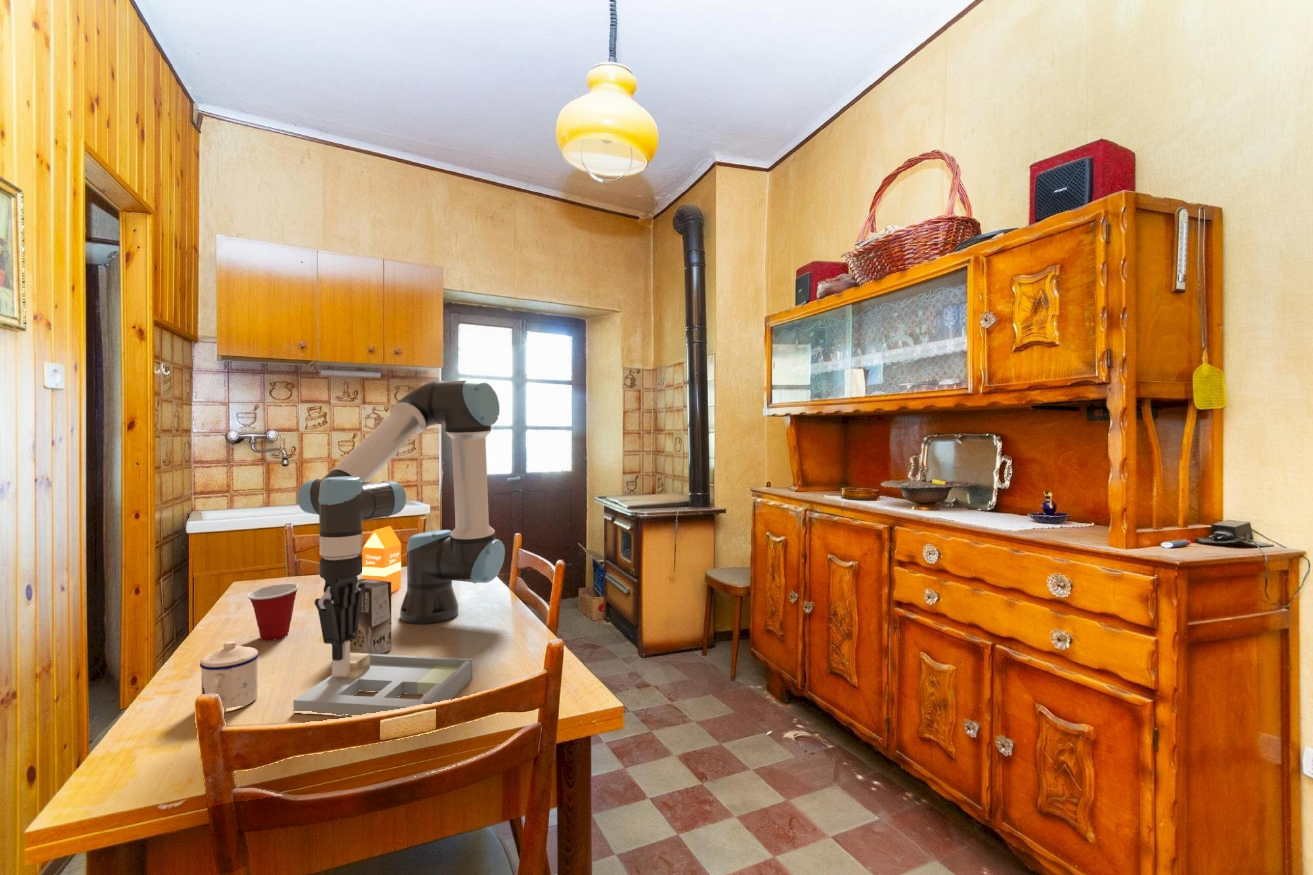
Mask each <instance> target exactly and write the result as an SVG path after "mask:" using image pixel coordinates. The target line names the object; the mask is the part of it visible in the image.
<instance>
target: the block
mask: <svg viewBox="0 0 1313 875" xmlns="http://www.w3.org/2000/svg"><path fill="white" fill-rule="evenodd" d="M369 668H370V654H365V653H350V673H349V674H348V675H346V676H336V675H333V661H331V675H332V677H344V678H356V677H358V676H359V675H361V674H362V673H364V672H365V671H366V670H368V669H369Z"/></svg>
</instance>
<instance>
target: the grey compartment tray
mask: <svg viewBox="0 0 1313 875" xmlns="http://www.w3.org/2000/svg"><path fill="white" fill-rule="evenodd" d="M365 654H367V653H365ZM473 663H474V662H473V658H460V657H446V656H445V657H441V656H424V655H423V656H422V655H421V656H420V655H406V654H405V655H403V654H401V655H400V654H385V653H382V654H370V668H369V669H368V670H366V671H365V672H364V673H362V674H361V675H359V676H358V677H356V678H344V677H332V674H331V675H330V676H328V677H327V678H325V679H324V680H322V681H320V682H318V684H316V685H314V686H313V687H311V688H309V689H308V690H307V691H305V692H303V693H302V694H301V695H299V696H298V697H296V698H295V699H293V703H292V704H293V712H294V711H312V712H317V713H332V714H336V715H342V716H338V717H341V718H342V717H343V718H349V717H348V716H351V715H362V714H366V713H376V712H380V711H388V710H394V709H400V708H406V707H410V706H415V705H420V704H432V703H434V702H440V701H443V700H449V699H452V700H453V699H454V698H455V697H456V696H457V694H458V693H460V692H461V690H462V689H463V688H465V686H466V685H467V684H468V683H469V682H470V681H471V680H473V669H474V668H473ZM359 690H362V691H380V692H378V693H375V695H374V696H366V695H365V696H364V695H360V696H359V695H356V694H355V693H357V692H358V691H359ZM358 693H359V692H358ZM358 693H357V694H358ZM402 693H407V694H406V695H410V694H425V695H422V696H421V698H419V699H417V698H416V699H415V698H414V699H413V698H400V697H401V696H402V695H403V694H402ZM354 694H355V695H354ZM401 694H402V695H401ZM352 695H354V696H352ZM400 695H401V696H400ZM398 696H400V697H399V698H397V697H398ZM343 714H344V715H343ZM345 714H348V715H345Z"/></svg>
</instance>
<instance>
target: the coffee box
mask: <svg viewBox="0 0 1313 875" xmlns="http://www.w3.org/2000/svg"><path fill="white" fill-rule="evenodd" d="M358 582H359V583H365V589H364V592H363V595H362V602H361V610H360V617H359V625H358V631H357V633H353V635H356V638H355V639H350V653H367V654H385V653H386V652H390V651H391V650H392V592H391V583H392V582H390V581H380V580H371V579H362V578H360V579H359V578H358Z"/></svg>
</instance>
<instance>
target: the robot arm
mask: <svg viewBox="0 0 1313 875" xmlns="http://www.w3.org/2000/svg"><path fill="white" fill-rule="evenodd" d="M499 402H500V401H499V398H498V395H497V393H496V391H495V389H493V387H492V386H491V385H490V384H489V383H488V382H486V381H482V380H472V379H469V380H435V381H430V382H427V383H424V384H422V385H420V386H418V387H416V388H415V389H413V390H411V391H410V392H408V393H407V394H405V395H404V396H403V397H402V398H400V399H399V400H398V401H397V402H396V403H395V404H394V405H393V406H392V407H391V410H390V414H389V415H388V416H387V417H386V418H385V419H384V420H383V421H382V422H381V423H380V424H379V425H378V426H377V427H376V428H374V429H373V430H372V432H370V433H369V434H368V435H367V436H366V437H365V438H364V439H362V441H360V443H358V445H357V446H356V447H354V448H353V449H352V450H351V451H350V452H349V453H348V454H347V455H346V456H345V457H344V458H343V459H342V460H341V461H340V462H339V463H338V464H337V465H335V466H334V467H333V468H332V469H331V470H330V471H329V473H327V474H325V476H324V477H323V478H322V479H319V478H316V479H309V480H306V481H305V482H303V483H302V484H301V486H300V487H299V489H298V491H297V495H296V499H297V505H298V506H299V508H300V509H301V510H302V511H303V512H305V513H307V514H313V515H318V517H319V555H320V559H319V565H318V566H319V568H318V569H319V576H320V578H322V579H323V580H324V586H323V594H322V596H321V597H320V598H316V599H315V600H314V605H315V607H316V610H317V611H318V618H319V623H320V629H321V635H322V638H323V639H322V640H323V644H326V645H329V644H330V645H331V659H332V662H333V675H336V676H346V675H348V674H349V673H350V639H355V638H356V635H353V633H357V631H358V625H359V617H360V610H361V602H362V595H363V592H364V589H365V583H359V582H358V580H359V578H358V576H359V575H361V574H362V555H361V554H362V551H363V547H364V545H363V522H366V521H371V520H376V519H381V518H389V517H391V516H394V515H397V514H399V513H401V512H402V511H403V510H404V508H405V506H406V505H407V493H406V490H405V488H404V487H403V486H402V484H400V482H396V481H393V480H390V481H385V480H382V481H381V482H380V481H379V482H375V481H374V482H372V481H371V480H372V479H374V477H375V476H376V475H377V474H378V473H379V472H380V471H381V470H382V469H383V467H384V466H385V465H386V464H387V463H389V461H390V460H392V458H393V457H394V456H395V455H396V454H397V453H398V452H399V451H400V449H402V448H403V447H404V446H405V445H406V443H408V441H409V440H411V439H412V437H413V436H414V435H417V434H421V433H422V432H424V431H425V429H427V428H428V427H430V426H436V425H444V431H445V432H444V433H445V434H446V435H447V436H448V437H450V439H451V449H452V450H451V451H452V452H451V453H452V455H451V456H452V472H453V473H452V476H453V497H454V499H453V500H454V516H455V518H454V519H455V520H454V522H455V523H454V524H455V527H454V529H453V530H450V529H440V530H439V529H438V530H431V531H426V532H421V533H420V532H419V533H417V534H412V535H411V536H410V537H409V538H408V540H407V546H406V547H407V549H406V575H407V576H406V586H407V588H406V592H405V595H404V598H403V600H402V604H401V607H400V611H399V618H400V620H401V621H403V622H405V623H407V624H415V625H416V624H418V625H419V624H434V623H439V622H444V621H448V620H450V619H452V618H455V617H456V616H458V614H459V603H458V602H459V601H458V600H457V597H456V593H455V591H454V588H453V581H455V582H467V583H472V584H478V583H481V584H486V583H490V582H492V581H494V580H495V579H496V577H497V576H498V575H499V573H500V572H501V570H502V567H503V566H504V561H505V555H506V554H505V553H506V552H505V551H506V548H505V545H504V544H503V541H502V540H500V539H497V538H496V530H495V529H494V528H493V527H492V526H491V525H490V522H489V517H490V515H489V495H488V493H489V492H488V471H487V470H488V469H487V468H488V466H487V464H488V463H487V444H486V443H487V442H486V437H487V436H488V435H489V434H490V433H491V432H492V426H493V425H494V424H496V422H497V421H498V420H499V417H498V416H500V409H501V408H500V403H499ZM370 481H371V482H370Z"/></svg>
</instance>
